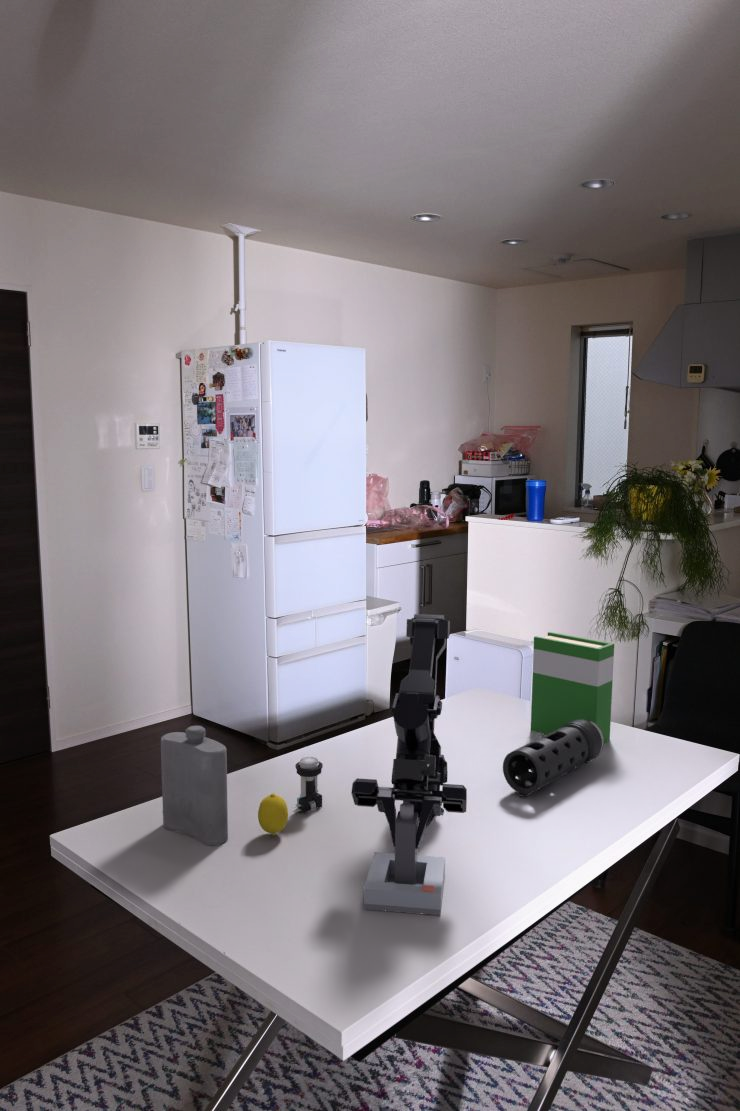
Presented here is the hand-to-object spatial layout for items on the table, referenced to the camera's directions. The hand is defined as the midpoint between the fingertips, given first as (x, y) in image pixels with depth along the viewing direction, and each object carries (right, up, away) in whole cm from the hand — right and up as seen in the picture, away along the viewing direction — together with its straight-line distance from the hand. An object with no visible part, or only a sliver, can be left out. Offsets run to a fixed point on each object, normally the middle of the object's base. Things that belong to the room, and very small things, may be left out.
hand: (405, 847), depth 140 cm
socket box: (0, -8, +3) cm, 9 cm away
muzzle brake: (+34, -2, +50) cm, 60 cm away
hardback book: (+44, +2, +76) cm, 88 cm away
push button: (-18, -4, +33) cm, 38 cm away
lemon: (-24, -5, +22) cm, 33 cm away
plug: (0, -6, +2) cm, 7 cm away
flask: (-38, -5, +23) cm, 45 cm away
